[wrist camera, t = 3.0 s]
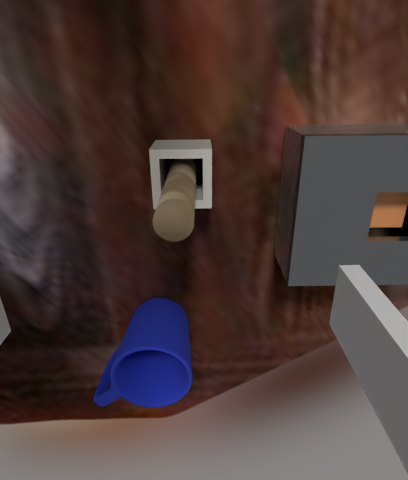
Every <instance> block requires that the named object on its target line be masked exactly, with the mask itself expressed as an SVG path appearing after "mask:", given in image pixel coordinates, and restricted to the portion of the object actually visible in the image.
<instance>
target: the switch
mask: <svg viewBox="0 0 408 480" xmlns="http://www.w3.org/2000/svg"><path fill="white" fill-rule="evenodd" d="M407 204H408V192H386V193H377V196H376V201H375V206H374V210H373V215H372V220H371V224H370V228H373V227H402V224H403V220H404V216H405V212H406V208H407Z"/></svg>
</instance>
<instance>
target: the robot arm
mask: <svg viewBox="0 0 408 480" xmlns="http://www.w3.org/2000/svg"><path fill="white" fill-rule="evenodd" d="M329 324H330V326H331V328H332V330H333V332H334V334H335V336H336V338H337V340H338V341H339V343H340V345H341V347H342V349H343V351H344V353H345V355H346V357H347V359H348V360H349V362H350V364H351V366H352V368H353V370H354V372H355V374H356V376H357V378H358V380H359V382H360V383H361V385H362V387H363V389H364V391H365V393H366V395H367V397H368V399H369V401H370V403H371V404H372V406H373V408H374V410H375V412H376V414H377V416H378V418H379V420H380V422H381V423H382V425H383V427H384V429H385V431H386V433H387V435H388V437H389V439H390V441H391V443H392V445H393V446H394V448H395V450H396V452H397V454H398V456H399V458H400V460H401V461H402V463H403V465H404V467H405V469H406V471H407V473H408V322H407V320H406V319H405V318H404V317H403V316H402V315H401V313H400V312H399V311H398V310H397V309H396V307H395V306H394V305H393V304H392V303H391V302H390V300H389V299H388V298H387V297H386V296H385V295H384V293H383V292H382V291H381V290H380V289H379V288H378V286H377V285H376V284H375V283H374V282H373V280H372V279H371V278H370V277H369V276H368V275H367V273H366V272H365V271H364V270H363V269H362V268H361V266H360V265H339V268H338V274H337V280H336V287H335V293H334V299H333V305H332V311H331V317H330V323H329ZM10 331H11V329H10V326H9V323H8V320H7V317H6V314H5V310H4V307H3V304H2V301H1V298H0V345H1V343H2V342H3V341H4V339H5V338H6V337H7V335H8V334H9V333H10Z"/></svg>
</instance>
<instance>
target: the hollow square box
mask: <svg viewBox="0 0 408 480" xmlns="http://www.w3.org/2000/svg"><path fill="white" fill-rule="evenodd" d="M149 156H150V170H151V183H152V197H153V209H156V208H157V205H158V202H159V199H160V196H161V193H162V190H163V187H164V184H165V181H166V168H165V159H198V158H203V185H196V193H195V209H197V208H212V146H211V140H210V139H206V140H155V142H154V143H153V145H152V146H151V147H150V149H149Z"/></svg>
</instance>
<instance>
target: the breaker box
mask: <svg viewBox="0 0 408 480" xmlns="http://www.w3.org/2000/svg"><path fill="white" fill-rule="evenodd" d="M386 192H408V124H344V125H285V135H284V147H283V158H282V169H281V180H280V191H279V203H278V214H277V225H276V236H275V248H274V254H275V256H276V259H277V261H278V263H279V266H280V268H281V271H282V273H283V275H284V278H285V280H286V283H287V285H288V286H336V280H337V274H338V268H339V265H360V266H361V268H362V269H363V270H364V271H365V272H366V273H367V275H368V276H369V277H370V278H371V279H372V280H373V282H374V283H375V284H376V285H408V236H392V237H368V234H369V229H370V224H371V220H372V215H373V210H374V206H375V201H376V196H377V193H386Z"/></svg>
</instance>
